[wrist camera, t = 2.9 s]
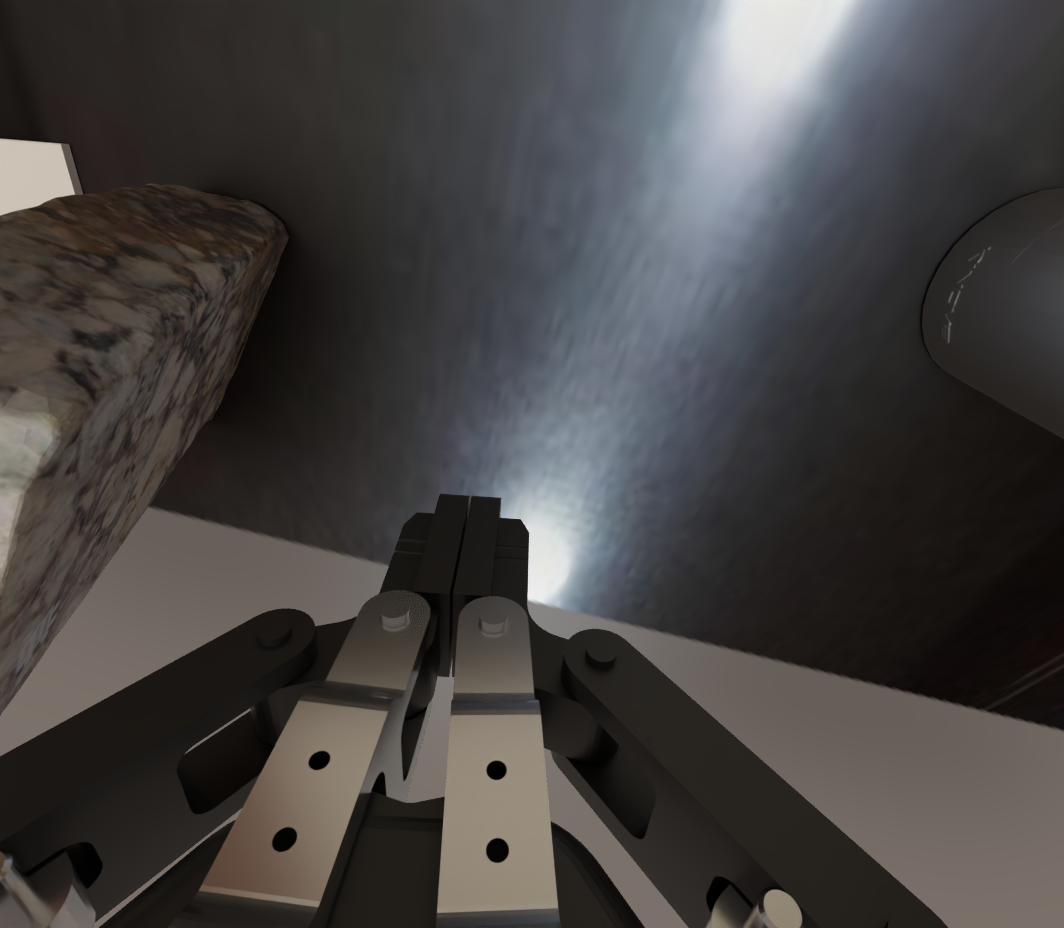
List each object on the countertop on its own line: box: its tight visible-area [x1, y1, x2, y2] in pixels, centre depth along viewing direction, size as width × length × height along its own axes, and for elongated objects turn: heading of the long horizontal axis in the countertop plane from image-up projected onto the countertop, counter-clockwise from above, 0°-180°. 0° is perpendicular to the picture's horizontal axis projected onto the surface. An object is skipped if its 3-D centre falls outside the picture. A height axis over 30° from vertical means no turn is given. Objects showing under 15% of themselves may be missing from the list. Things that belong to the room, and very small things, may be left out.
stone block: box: [0, 183, 289, 715], centre depth 20 cm, size 13×7×20 cm, turn 151°
